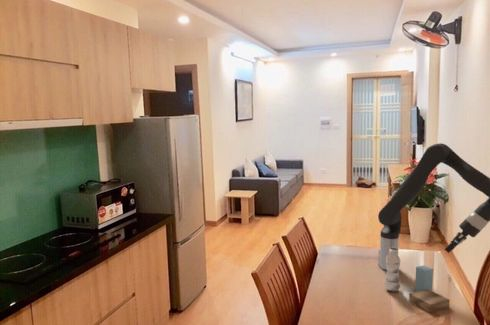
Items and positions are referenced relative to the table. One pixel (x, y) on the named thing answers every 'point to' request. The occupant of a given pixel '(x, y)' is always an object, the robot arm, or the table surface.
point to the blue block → (423, 278)
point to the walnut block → (429, 300)
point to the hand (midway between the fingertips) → (447, 250)
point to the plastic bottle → (392, 270)
